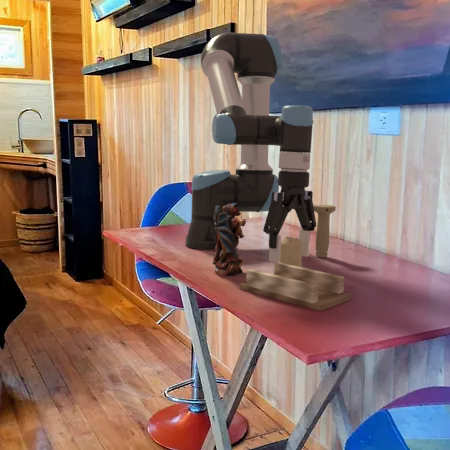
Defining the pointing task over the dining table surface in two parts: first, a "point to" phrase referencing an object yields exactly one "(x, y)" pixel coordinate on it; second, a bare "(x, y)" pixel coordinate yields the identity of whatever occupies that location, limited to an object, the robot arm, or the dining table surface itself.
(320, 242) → the handle
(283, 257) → the candle
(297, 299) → the rack
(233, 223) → the figurine
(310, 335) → the dining table surface
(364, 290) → the dining table surface
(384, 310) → the dining table surface
